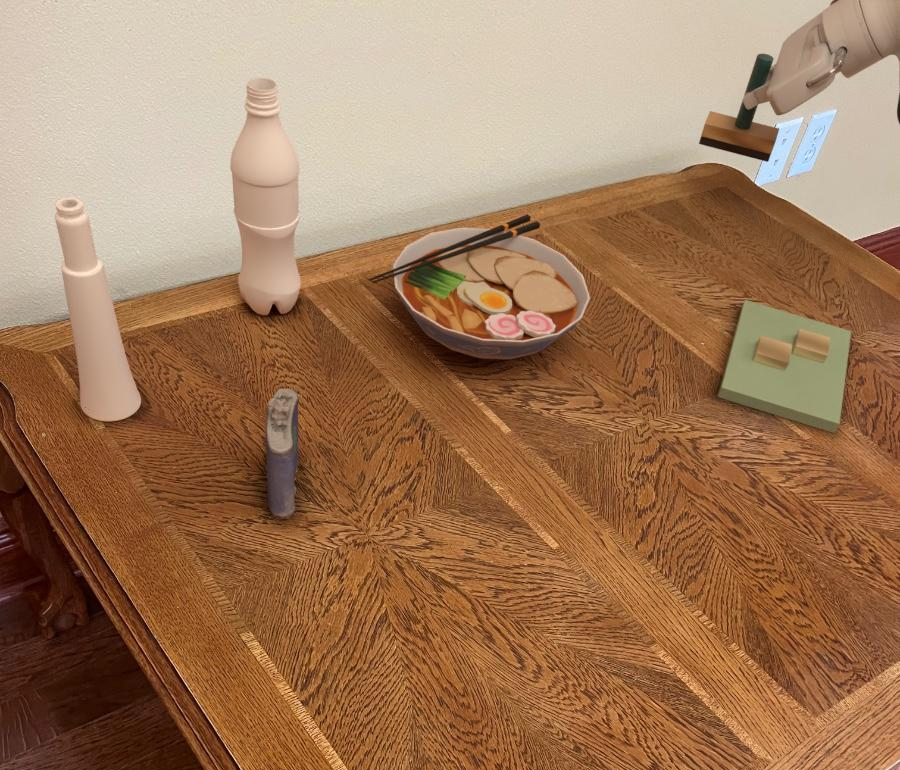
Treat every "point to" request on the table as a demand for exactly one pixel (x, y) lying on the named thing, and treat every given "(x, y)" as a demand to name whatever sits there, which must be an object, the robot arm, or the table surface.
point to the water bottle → (266, 203)
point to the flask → (282, 452)
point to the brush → (743, 123)
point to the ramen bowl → (489, 290)
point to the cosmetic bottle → (93, 321)
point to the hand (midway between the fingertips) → (746, 97)
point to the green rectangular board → (802, 383)
